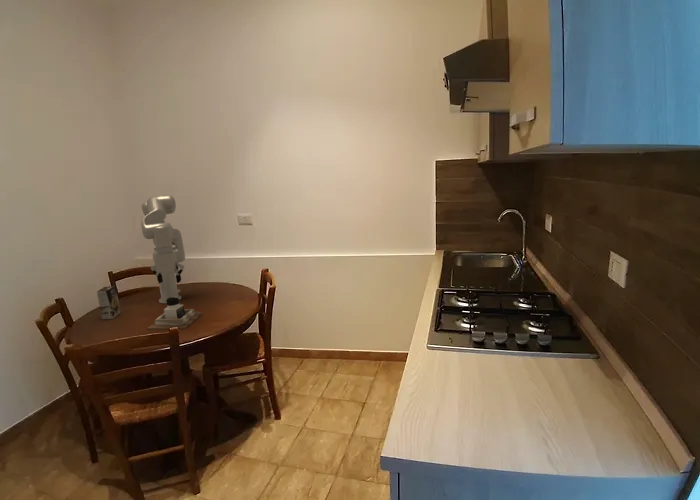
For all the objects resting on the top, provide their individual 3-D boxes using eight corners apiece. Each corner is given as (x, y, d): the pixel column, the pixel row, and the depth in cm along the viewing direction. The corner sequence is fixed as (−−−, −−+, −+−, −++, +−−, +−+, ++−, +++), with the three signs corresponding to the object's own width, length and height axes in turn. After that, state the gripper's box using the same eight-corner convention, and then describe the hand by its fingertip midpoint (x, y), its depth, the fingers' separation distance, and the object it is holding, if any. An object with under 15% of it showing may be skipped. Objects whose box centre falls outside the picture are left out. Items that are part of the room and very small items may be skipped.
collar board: (167, 315, 237) (166, 308, 236) (202, 313, 235) (201, 307, 234) (147, 329, 218) (146, 322, 217) (185, 328, 216) (184, 321, 215)
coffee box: (113, 318, 237) (108, 290, 233) (101, 319, 236) (95, 291, 233) (121, 312, 246) (115, 285, 242) (109, 313, 245) (104, 286, 242)
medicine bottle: (178, 322, 222) (174, 300, 219) (165, 322, 223) (161, 300, 221) (185, 317, 229) (182, 295, 226) (173, 317, 230) (169, 295, 228)
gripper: (144, 252, 215) (149, 285, 219) (177, 251, 213) (182, 284, 217) (152, 248, 222) (157, 280, 226) (184, 247, 221) (189, 279, 225)
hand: (169, 282), depth 222 cm, fingers open, 9 cm apart
